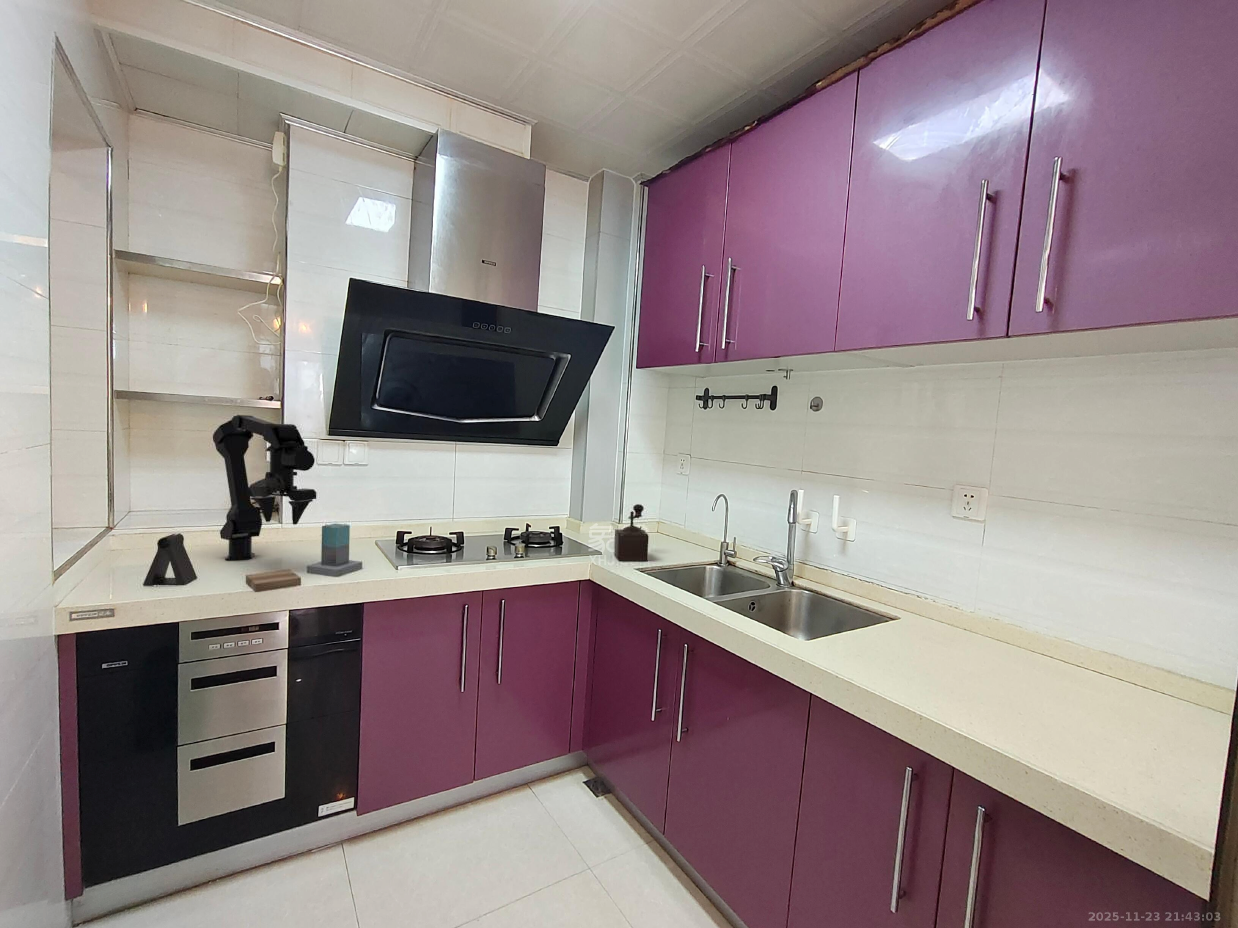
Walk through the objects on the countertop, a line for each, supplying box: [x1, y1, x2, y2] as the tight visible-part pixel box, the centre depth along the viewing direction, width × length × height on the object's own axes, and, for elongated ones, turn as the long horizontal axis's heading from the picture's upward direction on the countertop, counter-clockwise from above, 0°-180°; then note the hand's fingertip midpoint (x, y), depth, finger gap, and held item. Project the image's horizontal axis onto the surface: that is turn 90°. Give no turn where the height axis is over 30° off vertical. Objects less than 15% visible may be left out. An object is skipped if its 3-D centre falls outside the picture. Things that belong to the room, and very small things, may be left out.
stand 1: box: [245, 569, 302, 593], centre depth 142 cm, size 10×10×2 cm
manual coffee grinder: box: [613, 503, 649, 563], centre depth 194 cm, size 16×11×18 cm
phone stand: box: [142, 532, 198, 587], centre depth 139 cm, size 9×6×12 cm, turn 104°
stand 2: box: [306, 559, 363, 578], centre depth 157 cm, size 10×10×2 cm
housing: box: [320, 523, 351, 567], centre depth 157 cm, size 5×5×11 cm
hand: (281, 523), depth 156 cm, fingers open, 9 cm apart
